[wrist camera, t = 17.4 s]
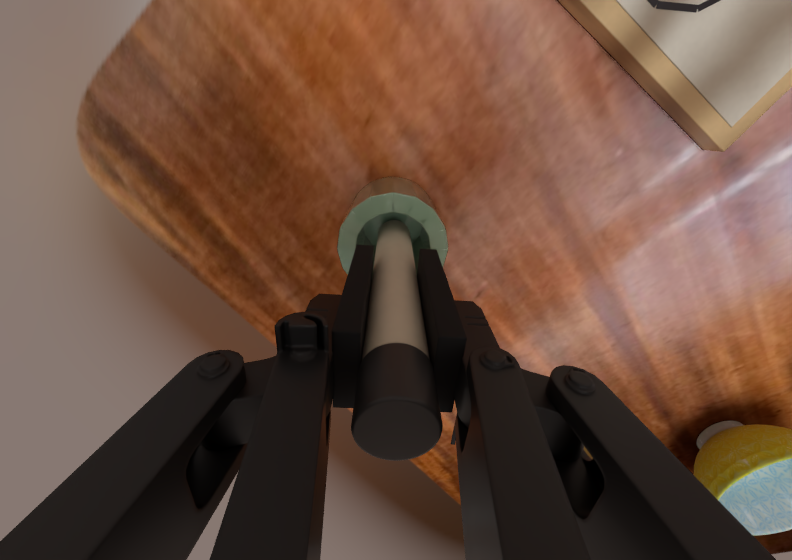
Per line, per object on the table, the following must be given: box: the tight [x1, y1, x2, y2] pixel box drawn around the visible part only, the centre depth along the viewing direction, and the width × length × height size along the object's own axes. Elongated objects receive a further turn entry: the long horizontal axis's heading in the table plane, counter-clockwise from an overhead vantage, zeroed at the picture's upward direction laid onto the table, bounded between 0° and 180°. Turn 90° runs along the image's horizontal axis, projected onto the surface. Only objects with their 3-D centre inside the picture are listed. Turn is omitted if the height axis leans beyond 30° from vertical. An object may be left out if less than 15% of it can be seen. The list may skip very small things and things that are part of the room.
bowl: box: [694, 421, 792, 535], centre depth 30 cm, size 11×12×6 cm
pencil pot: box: [337, 177, 448, 276], centre depth 20 cm, size 6×6×6 cm
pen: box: [351, 220, 442, 460], centre depth 14 cm, size 2×2×15 cm
